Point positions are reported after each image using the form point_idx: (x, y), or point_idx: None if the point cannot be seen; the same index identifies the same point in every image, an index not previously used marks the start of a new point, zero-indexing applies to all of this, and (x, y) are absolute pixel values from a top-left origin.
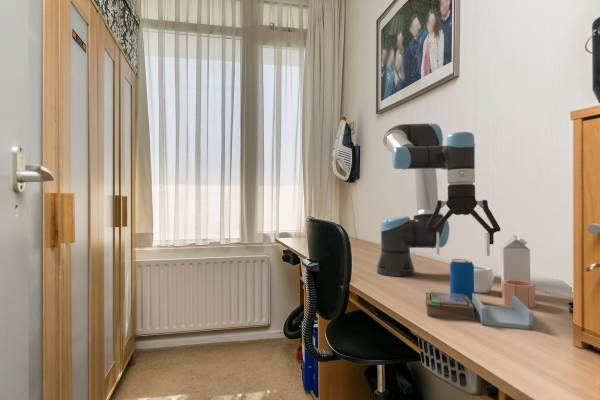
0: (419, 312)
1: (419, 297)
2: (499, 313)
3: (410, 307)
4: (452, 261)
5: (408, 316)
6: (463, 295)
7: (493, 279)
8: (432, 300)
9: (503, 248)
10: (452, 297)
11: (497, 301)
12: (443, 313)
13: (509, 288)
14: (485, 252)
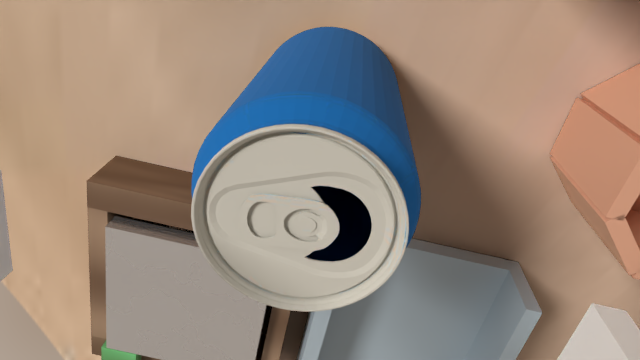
0: (86, 283)
1: (83, 48)
2: (392, 342)
3: (45, 226)
4: (199, 221)
5: (47, 322)
6: None
7: None
8: (106, 356)
9: None
10: (204, 318)
11: (540, 105)
12: None
13: (602, 228)
14: (594, 350)
